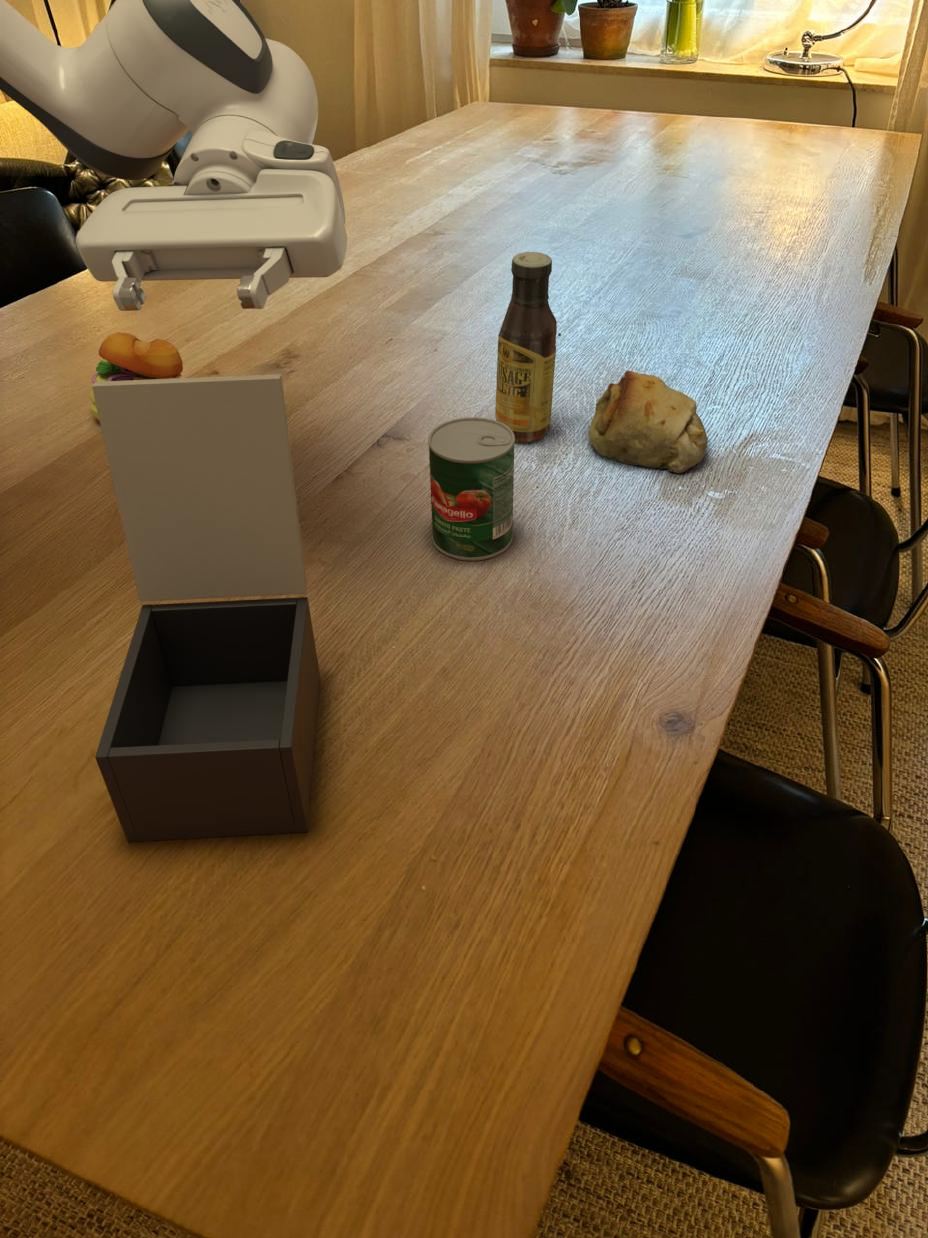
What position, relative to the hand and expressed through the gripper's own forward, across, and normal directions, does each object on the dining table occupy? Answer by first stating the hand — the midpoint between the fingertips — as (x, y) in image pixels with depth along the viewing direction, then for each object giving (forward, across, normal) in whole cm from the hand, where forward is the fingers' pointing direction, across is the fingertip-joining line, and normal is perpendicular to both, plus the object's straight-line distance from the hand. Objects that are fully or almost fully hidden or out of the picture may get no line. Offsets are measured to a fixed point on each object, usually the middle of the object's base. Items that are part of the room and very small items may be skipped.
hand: (186, 302), depth 71 cm
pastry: (-23, +33, +38) cm, 56 cm away
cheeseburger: (-26, -26, +36) cm, 51 cm away
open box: (+24, +3, +22) cm, 33 cm away
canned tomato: (-4, +17, +32) cm, 36 cm away
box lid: (+11, +2, +8) cm, 14 cm away
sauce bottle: (-25, +20, +38) cm, 49 cm away
